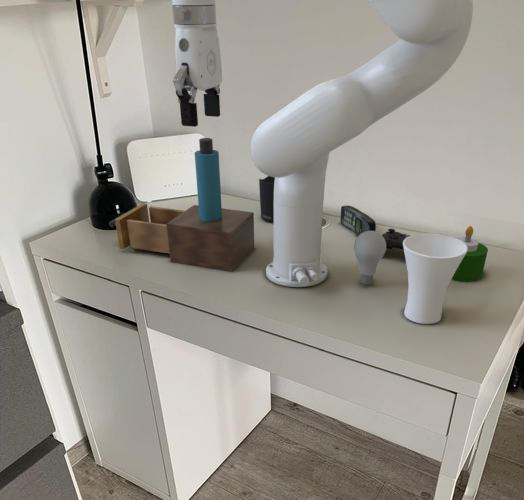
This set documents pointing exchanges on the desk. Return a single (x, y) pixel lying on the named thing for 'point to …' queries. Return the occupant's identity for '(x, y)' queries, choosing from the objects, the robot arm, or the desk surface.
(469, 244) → the candle
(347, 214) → the mobile phone
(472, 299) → the desk surface
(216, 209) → the teal bottle
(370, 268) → the lightbulb
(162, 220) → the drawer
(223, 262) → the cabinet
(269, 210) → the pen holder
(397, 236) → the gaming controller
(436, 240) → the cup
